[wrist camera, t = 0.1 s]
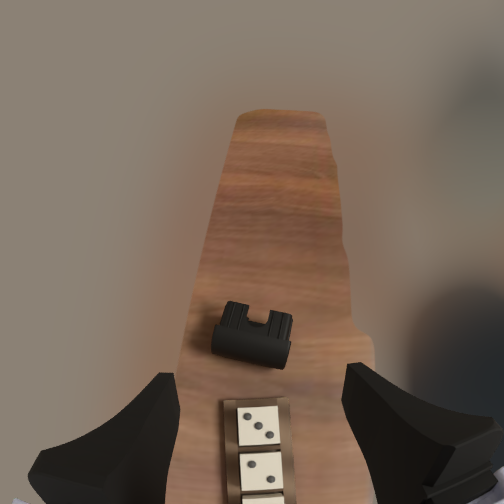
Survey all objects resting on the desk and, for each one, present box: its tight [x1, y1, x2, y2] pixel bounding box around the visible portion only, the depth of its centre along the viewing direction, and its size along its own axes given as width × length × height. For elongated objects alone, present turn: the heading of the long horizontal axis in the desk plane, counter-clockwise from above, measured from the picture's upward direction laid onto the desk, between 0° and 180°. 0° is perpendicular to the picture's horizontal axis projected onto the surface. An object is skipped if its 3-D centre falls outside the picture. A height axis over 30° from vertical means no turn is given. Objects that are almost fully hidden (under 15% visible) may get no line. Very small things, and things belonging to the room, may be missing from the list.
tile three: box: [238, 406, 280, 446], centre depth 36 cm, size 5×5×3 cm
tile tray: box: [224, 397, 296, 504], centre depth 34 cm, size 20×9×1 cm, turn 3°
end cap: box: [211, 301, 293, 370], centre depth 43 cm, size 10×7×7 cm
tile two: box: [240, 451, 283, 491], centre depth 32 cm, size 5×5×3 cm
